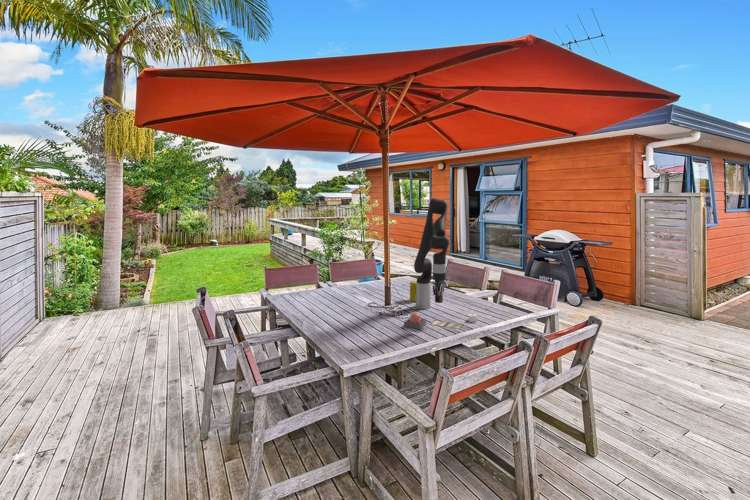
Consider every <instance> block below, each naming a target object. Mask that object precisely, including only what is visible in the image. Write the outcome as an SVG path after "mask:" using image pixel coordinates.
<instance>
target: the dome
mask: <svg viewBox="0 0 750 500" xmlns="http://www.w3.org/2000/svg"><path fill="white" fill-rule="evenodd" d="M409 318H410V322H414V323H420V322H421V319H422V318H421V315H420V314H419V313H418V312H413V313H412V314H410V316H409Z"/></svg>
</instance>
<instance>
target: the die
mask: <svg viewBox="0 0 750 500" xmlns="http://www.w3.org/2000/svg"><path fill="white" fill-rule="evenodd" d="M468 322H471V323H477V322H478V316H477V314H476V313H468Z"/></svg>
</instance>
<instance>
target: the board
mask: <svg viewBox="0 0 750 500" xmlns="http://www.w3.org/2000/svg"><path fill="white" fill-rule="evenodd" d="M428 325H429V326H433V327H441V328H446V329H447V328H448V329H451V330H452V329H454V330H460V329H462V328H463V327H464V326H465V324H463V323H457V322H450V321H443V320H439V319H434V320H433V321H432V322H430V323H429V324H428Z"/></svg>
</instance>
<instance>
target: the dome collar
mask: <svg viewBox="0 0 750 500" xmlns="http://www.w3.org/2000/svg"><path fill="white" fill-rule="evenodd" d="M425 326H427V319H426V318H421V322H420V323H414V322H410V317H409V318H408V319H406V320H404V321H403V327H405V328H409V329H415V330H421V329H422V328H424V327H425Z"/></svg>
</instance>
